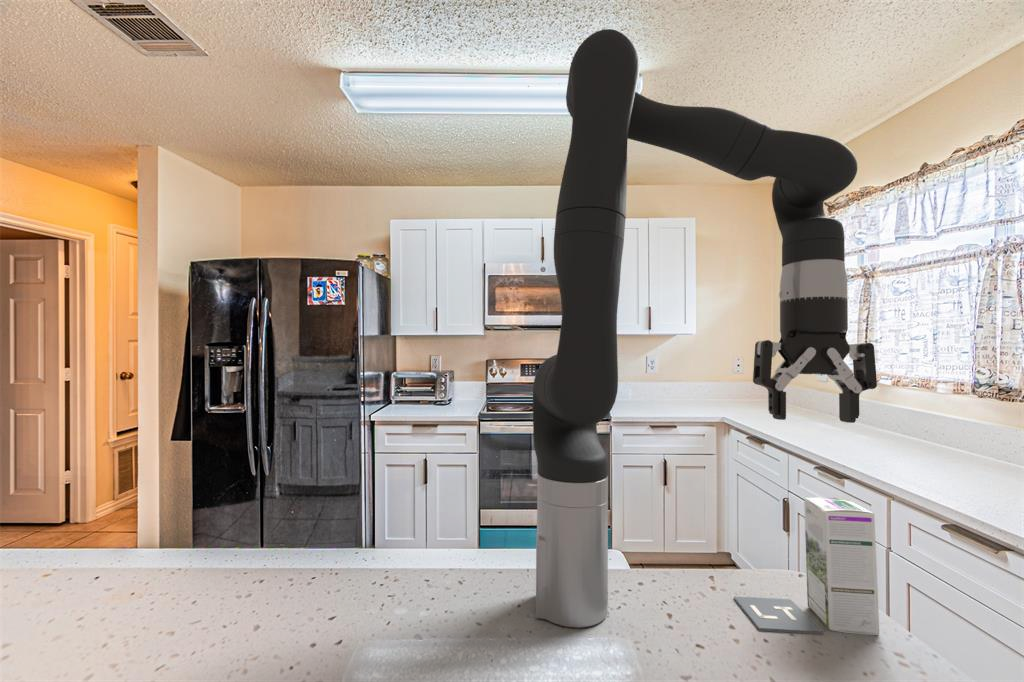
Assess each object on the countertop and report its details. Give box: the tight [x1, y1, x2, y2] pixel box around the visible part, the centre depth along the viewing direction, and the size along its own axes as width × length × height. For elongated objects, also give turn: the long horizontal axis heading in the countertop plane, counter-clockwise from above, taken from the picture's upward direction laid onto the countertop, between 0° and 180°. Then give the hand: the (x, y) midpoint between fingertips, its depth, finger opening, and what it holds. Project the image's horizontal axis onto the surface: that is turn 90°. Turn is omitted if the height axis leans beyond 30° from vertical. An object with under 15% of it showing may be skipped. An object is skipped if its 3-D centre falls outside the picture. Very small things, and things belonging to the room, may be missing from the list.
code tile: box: [733, 595, 825, 635], centre depth 58 cm, size 7×7×1 cm
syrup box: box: [803, 496, 880, 636], centre depth 57 cm, size 6×6×14 cm
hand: (813, 420), depth 59 cm, fingers open, 8 cm apart
